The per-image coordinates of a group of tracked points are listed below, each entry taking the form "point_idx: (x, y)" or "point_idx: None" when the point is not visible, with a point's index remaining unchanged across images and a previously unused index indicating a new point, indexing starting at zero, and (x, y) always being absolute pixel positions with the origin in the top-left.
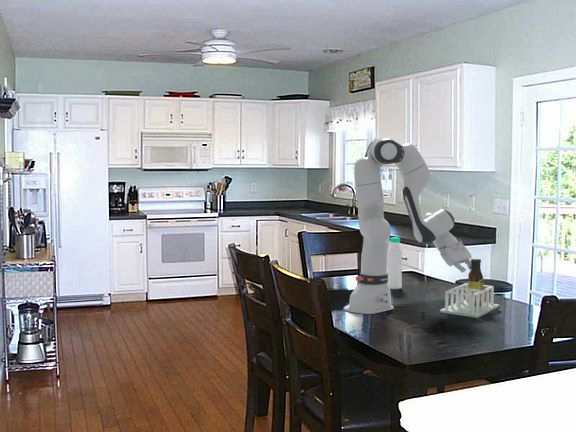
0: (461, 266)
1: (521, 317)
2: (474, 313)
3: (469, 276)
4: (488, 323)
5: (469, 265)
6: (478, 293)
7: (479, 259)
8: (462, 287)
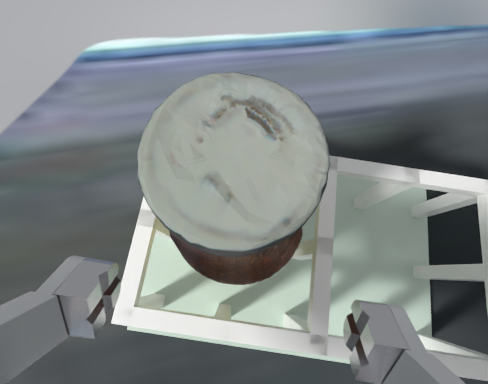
0: (443, 367)
1: (314, 62)
2: (401, 207)
3: (286, 263)
4: (472, 142)
5: (58, 323)
6: (424, 171)
7: (265, 83)
8: (317, 305)
